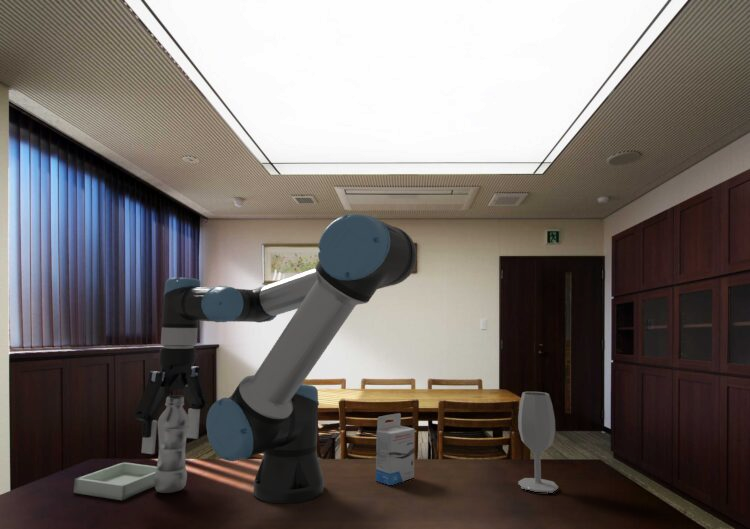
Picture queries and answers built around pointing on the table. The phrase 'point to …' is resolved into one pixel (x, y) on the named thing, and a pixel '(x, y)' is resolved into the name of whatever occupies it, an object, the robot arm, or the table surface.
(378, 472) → the ink box
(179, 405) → the plastic bottle
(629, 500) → the table surface
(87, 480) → the tray
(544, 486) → the wineglass
